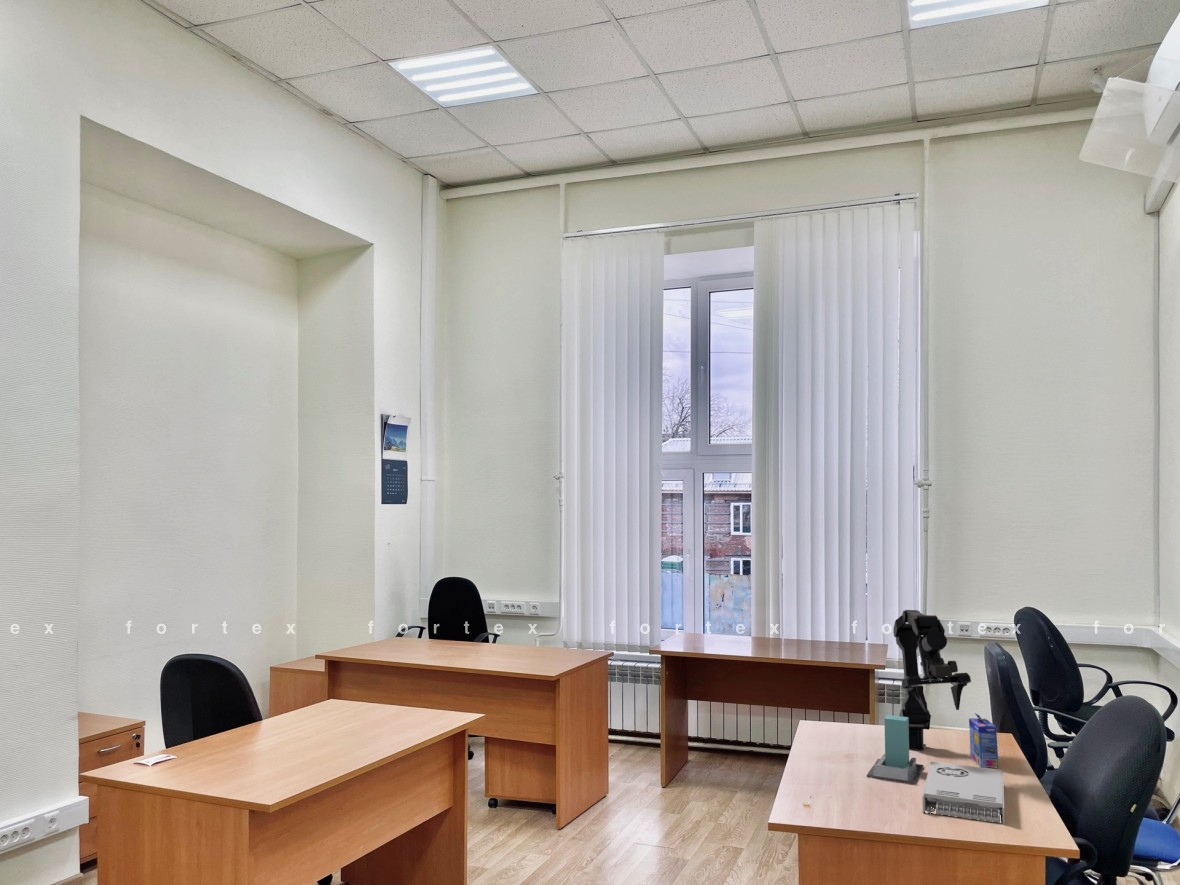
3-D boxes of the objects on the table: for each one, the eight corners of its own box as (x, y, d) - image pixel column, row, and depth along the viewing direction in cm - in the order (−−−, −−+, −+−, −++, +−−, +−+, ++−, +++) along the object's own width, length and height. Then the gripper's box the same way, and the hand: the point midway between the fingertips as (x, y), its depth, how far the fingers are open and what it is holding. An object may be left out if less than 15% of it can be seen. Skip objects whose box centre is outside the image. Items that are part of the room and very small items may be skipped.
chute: (878, 760, 271) (877, 748, 272) (923, 766, 265) (923, 754, 266) (866, 776, 255) (866, 764, 256) (914, 783, 249) (914, 770, 250)
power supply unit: (922, 815, 226) (922, 795, 226) (930, 779, 256) (930, 761, 256) (1004, 827, 218) (1004, 806, 218) (1003, 788, 248) (1003, 770, 248)
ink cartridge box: (968, 758, 275) (967, 710, 276) (987, 758, 274) (986, 710, 275) (979, 767, 265) (978, 717, 266) (999, 768, 264) (997, 718, 265)
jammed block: (888, 762, 267) (887, 714, 268) (909, 765, 264) (908, 717, 265) (885, 767, 262) (884, 718, 263) (906, 770, 259) (905, 720, 260)
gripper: (908, 653, 260) (919, 708, 253) (972, 649, 260) (985, 704, 253) (896, 660, 270) (907, 714, 263) (957, 657, 270) (969, 710, 264)
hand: (942, 710), depth 261 cm, fingers open, 9 cm apart
